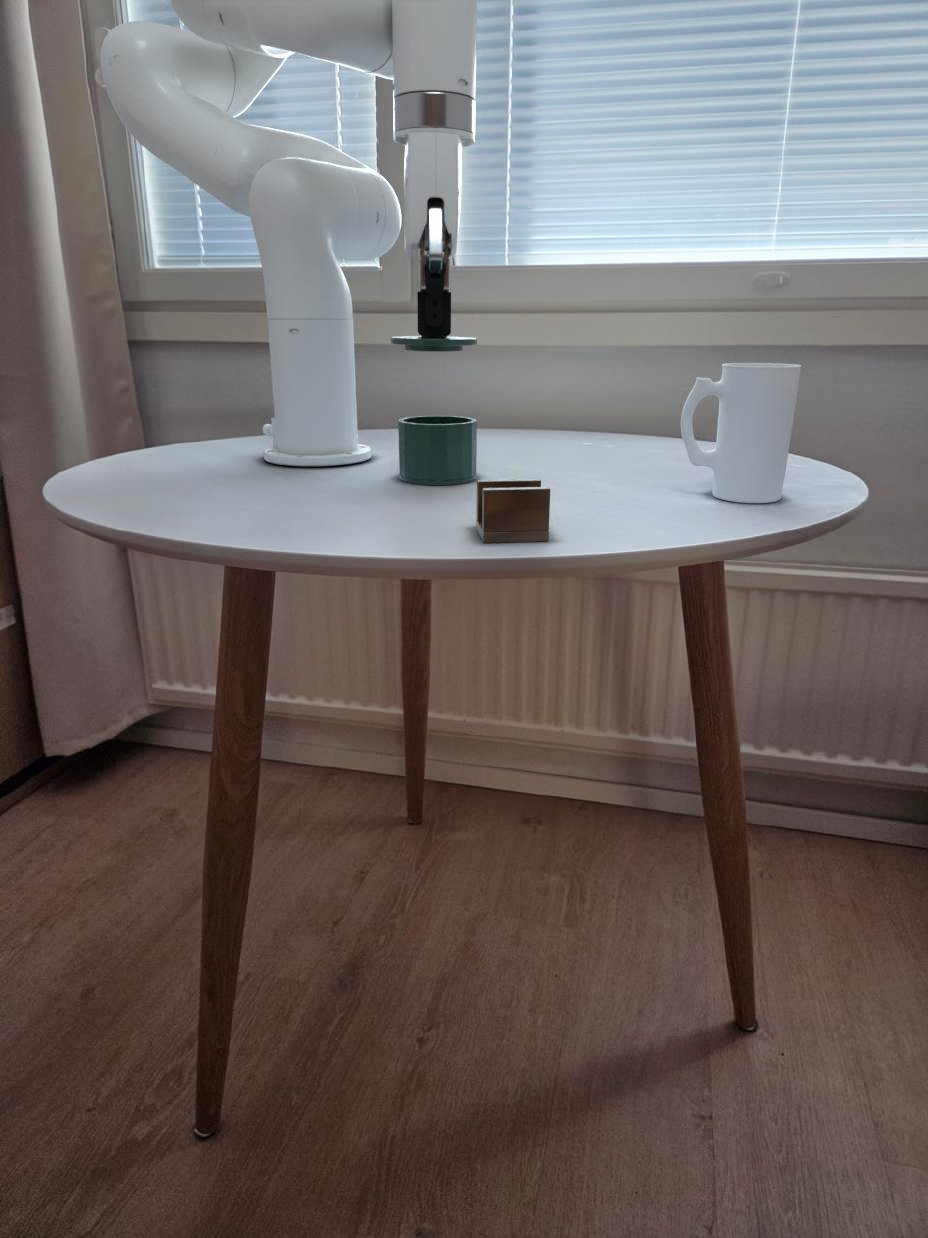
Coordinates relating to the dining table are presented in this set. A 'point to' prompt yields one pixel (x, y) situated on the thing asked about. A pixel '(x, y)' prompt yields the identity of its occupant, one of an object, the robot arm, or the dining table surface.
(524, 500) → the rack
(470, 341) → the lid
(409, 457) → the pot
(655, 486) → the dining table surface
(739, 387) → the mug
